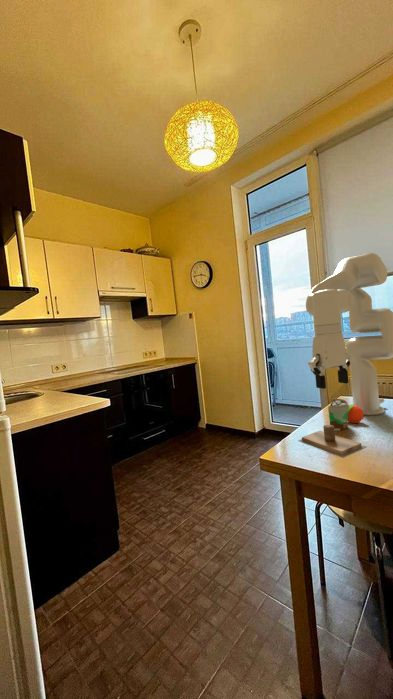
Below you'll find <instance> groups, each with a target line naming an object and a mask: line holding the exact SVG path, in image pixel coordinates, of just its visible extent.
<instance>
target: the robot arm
mask: <svg viewBox="0 0 393 699" xmlns="http://www.w3.org/2000/svg"><path fill="white" fill-rule="evenodd" d="M387 270H388V269H387V267H386V265H385V263H384V262H383V260H382V258H381V257H380V256H379V255H378V254H376V253H375V252H367V253H363V254H359V255H355V256H351V257H350V256H349V257H346V258H344V259H342V260H341V261H339V262H338V263H337V266H336V268H335V270H333V271H334V272H333V274H332V275H331V276H329V277H327V278H325V279H324V280H323V281H321V282H319V283H317V284H316V285H314V286H313V287H312V289H311V290H310V292H309V293H308V295H307V298H306V300H305V310H306V312H307V313H308V314H309V315H310V316H313V321H314V322H313V323H314V334H315V336H313V339H312V353H311V354H312V358H311V359H310V360H309V361H308V363H307V364H308V366H309V368H310V371H311V372H312V374H313V375H314V376H315V378H314V379H315V386H316V388H318V389H323V390H326V388H327V384H326V383H327V382H326V375H324V374H325V372H326V370H327V369H332V368H333V369H334V368H337V369H338V370H337V377H338V378H337V381H338V383H341V384H349V372H348V371H349V370H350V378H351V379H350V380H351V381H350V383H351V393H352V405H356V406H358V407H360V408H361V409H362V411H363V416H378V415H381V414H384V412H385V409H384V407H382V406H381V404H383V403H384V402H385V399H384V398H382V397H381V398H379V396H380V395H379V385H378V384H379V383H378V370H377V368H376V366H375V365H374V364H373V363H372V361H370V360H388V359H389V360H390V359H393V310H391V309H390V308H386V307H385V308H383V307H382V308H374V309H373V301H372V297H371V295H370V294H369V293H368V292H367V291H366V290H364V289H363V288H369V287H374V286H379V285H383V284H384V283H385V282H386V281H387V279H388V271H387ZM347 312H348V316H349V317H348V320H349V321H348V322H349V324H348V325H349V329H350V331H351V332H352V333H353V334H373V333H375V334H376V333H380V334H381V335H366V336H364V335H363V336H356V337H352V338H349V339H348V341H347V342H346V343H345V338H344V335H343V331H342V330H343V329H342V316H341V314H345V313H347Z"/></svg>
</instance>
